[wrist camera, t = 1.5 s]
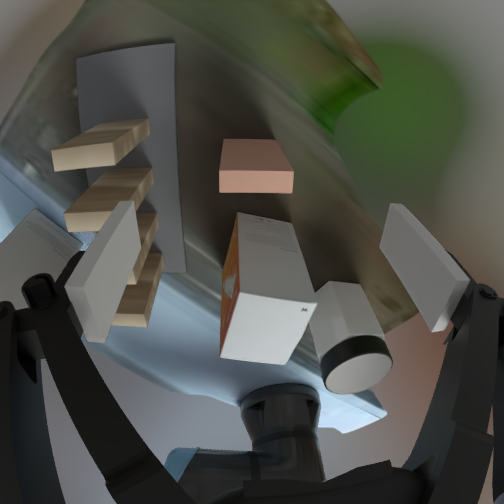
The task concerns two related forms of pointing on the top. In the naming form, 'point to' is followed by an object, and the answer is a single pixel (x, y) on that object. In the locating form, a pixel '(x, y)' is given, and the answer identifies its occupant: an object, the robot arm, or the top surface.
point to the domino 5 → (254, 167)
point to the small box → (264, 292)
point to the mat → (153, 146)
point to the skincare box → (33, 254)
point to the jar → (348, 339)
